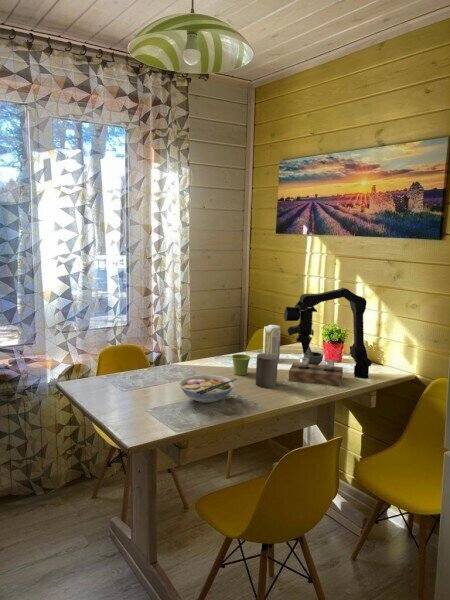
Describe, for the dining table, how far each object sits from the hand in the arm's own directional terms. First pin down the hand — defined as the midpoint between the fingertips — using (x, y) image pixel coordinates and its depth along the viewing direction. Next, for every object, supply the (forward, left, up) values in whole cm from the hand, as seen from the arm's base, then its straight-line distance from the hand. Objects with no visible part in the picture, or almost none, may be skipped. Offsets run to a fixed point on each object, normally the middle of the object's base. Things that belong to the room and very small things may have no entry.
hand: (304, 352), depth 241 cm
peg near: (-12, 0, -8) cm, 14 cm away
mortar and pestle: (-2, -20, -12) cm, 24 cm away
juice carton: (+20, -24, -12) cm, 34 cm away
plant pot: (+30, +4, -12) cm, 33 cm away
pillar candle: (+15, +16, -12) cm, 25 cm away
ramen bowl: (+35, +44, -12) cm, 58 cm away
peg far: (0, 0, -8) cm, 8 cm away
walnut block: (-6, 0, -12) cm, 14 cm away
